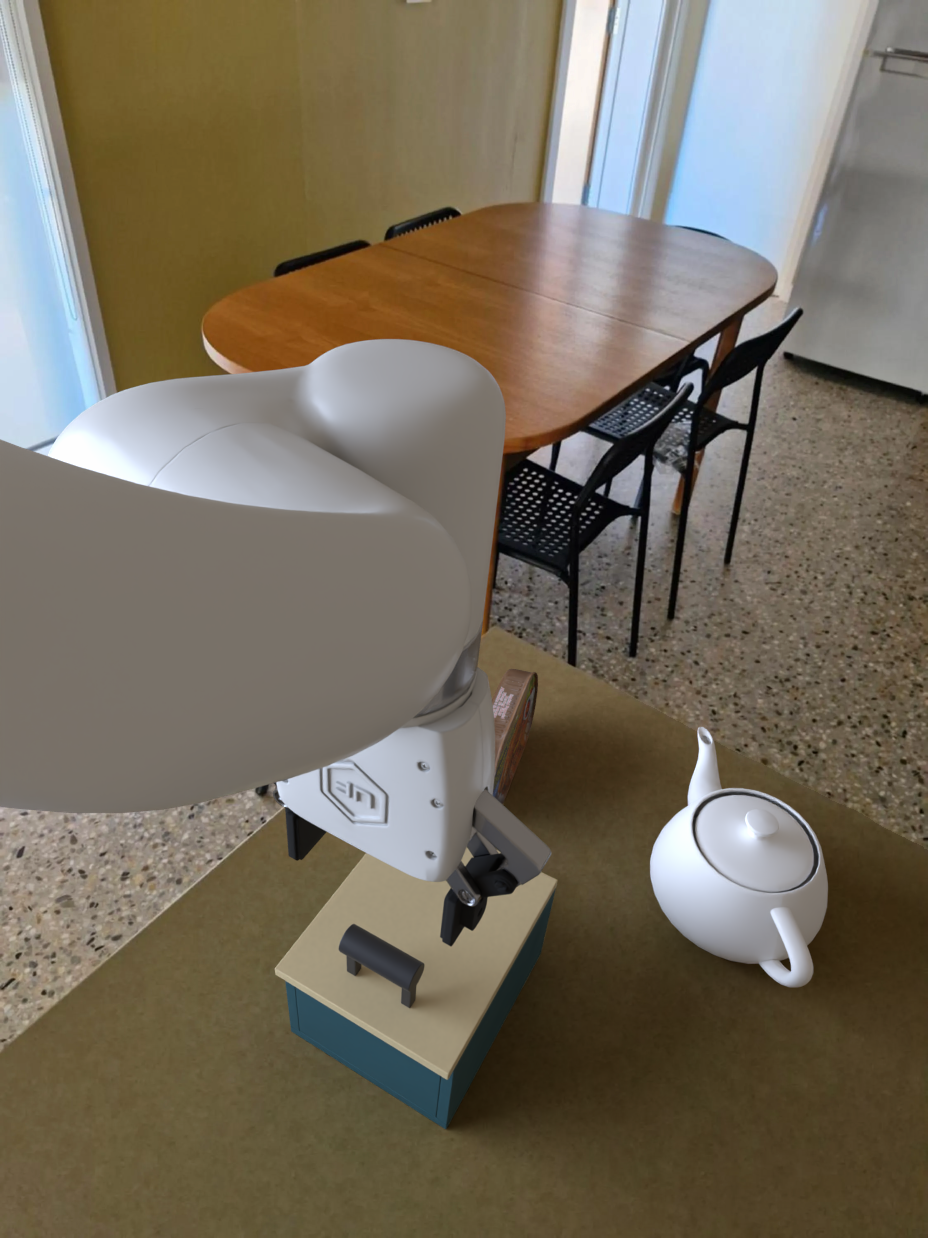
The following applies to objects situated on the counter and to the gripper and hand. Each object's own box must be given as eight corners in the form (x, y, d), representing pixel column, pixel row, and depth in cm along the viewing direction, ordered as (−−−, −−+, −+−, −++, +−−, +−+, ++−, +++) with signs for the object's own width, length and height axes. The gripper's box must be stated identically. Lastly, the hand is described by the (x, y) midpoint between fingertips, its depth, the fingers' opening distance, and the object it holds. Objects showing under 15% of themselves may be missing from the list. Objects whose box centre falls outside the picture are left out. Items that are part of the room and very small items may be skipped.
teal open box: (446, 1130, 58) (454, 1069, 52) (290, 1031, 62) (283, 965, 57) (541, 953, 68) (556, 887, 63) (401, 879, 72) (404, 810, 67)
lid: (447, 1081, 52) (453, 1040, 49) (275, 975, 56) (269, 931, 53) (556, 886, 63) (566, 843, 59) (404, 810, 67) (406, 765, 64)
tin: (490, 836, 76) (499, 771, 71) (455, 825, 77) (462, 760, 72) (536, 719, 87) (547, 656, 82) (505, 711, 88) (514, 647, 83)
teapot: (863, 1015, 66) (920, 936, 59) (689, 1036, 64) (727, 956, 57) (748, 785, 83) (782, 703, 76) (607, 795, 81) (629, 712, 74)
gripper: (174, 614, 38) (213, 858, 49) (536, 784, 32) (490, 1019, 43) (284, 535, 43) (297, 771, 54) (612, 669, 37) (554, 904, 48)
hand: (382, 881), depth 48 cm, fingers open, 9 cm apart
